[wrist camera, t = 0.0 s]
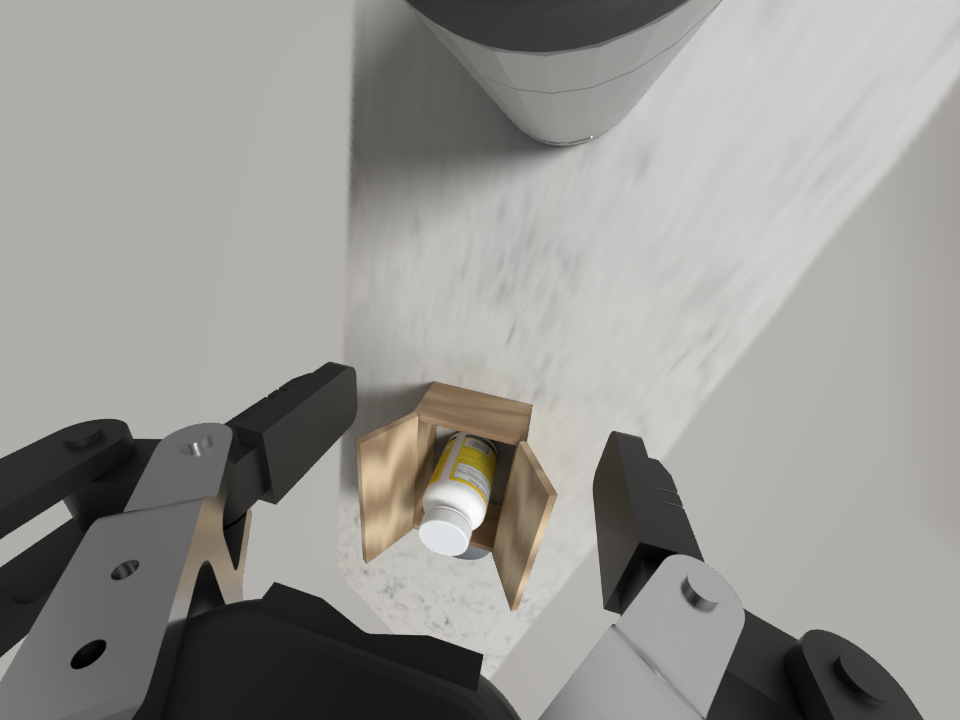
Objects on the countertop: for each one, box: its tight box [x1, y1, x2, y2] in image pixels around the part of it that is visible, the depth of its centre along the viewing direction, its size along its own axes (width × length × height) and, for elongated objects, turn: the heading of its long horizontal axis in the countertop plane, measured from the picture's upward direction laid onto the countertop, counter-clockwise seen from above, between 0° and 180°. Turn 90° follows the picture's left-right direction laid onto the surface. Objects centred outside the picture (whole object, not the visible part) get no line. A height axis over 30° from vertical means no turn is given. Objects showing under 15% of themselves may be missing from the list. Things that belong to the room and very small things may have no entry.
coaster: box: [453, 545, 490, 560], centre depth 40 cm, size 8×8×1 cm
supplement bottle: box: [418, 432, 498, 556], centre depth 30 cm, size 5×5×10 cm
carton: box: [356, 382, 557, 611], centre depth 30 cm, size 14×14×10 cm
